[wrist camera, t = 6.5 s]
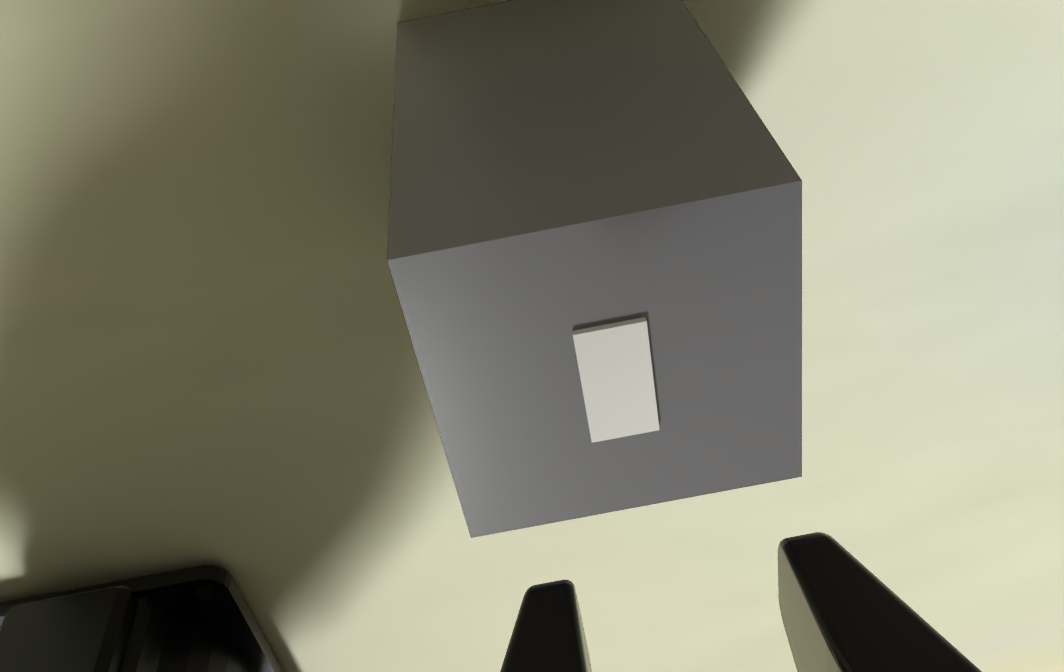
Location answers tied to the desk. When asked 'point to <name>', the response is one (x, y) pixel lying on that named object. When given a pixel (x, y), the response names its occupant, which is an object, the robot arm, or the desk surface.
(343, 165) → the desk surface
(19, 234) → the desk surface
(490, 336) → the charger
